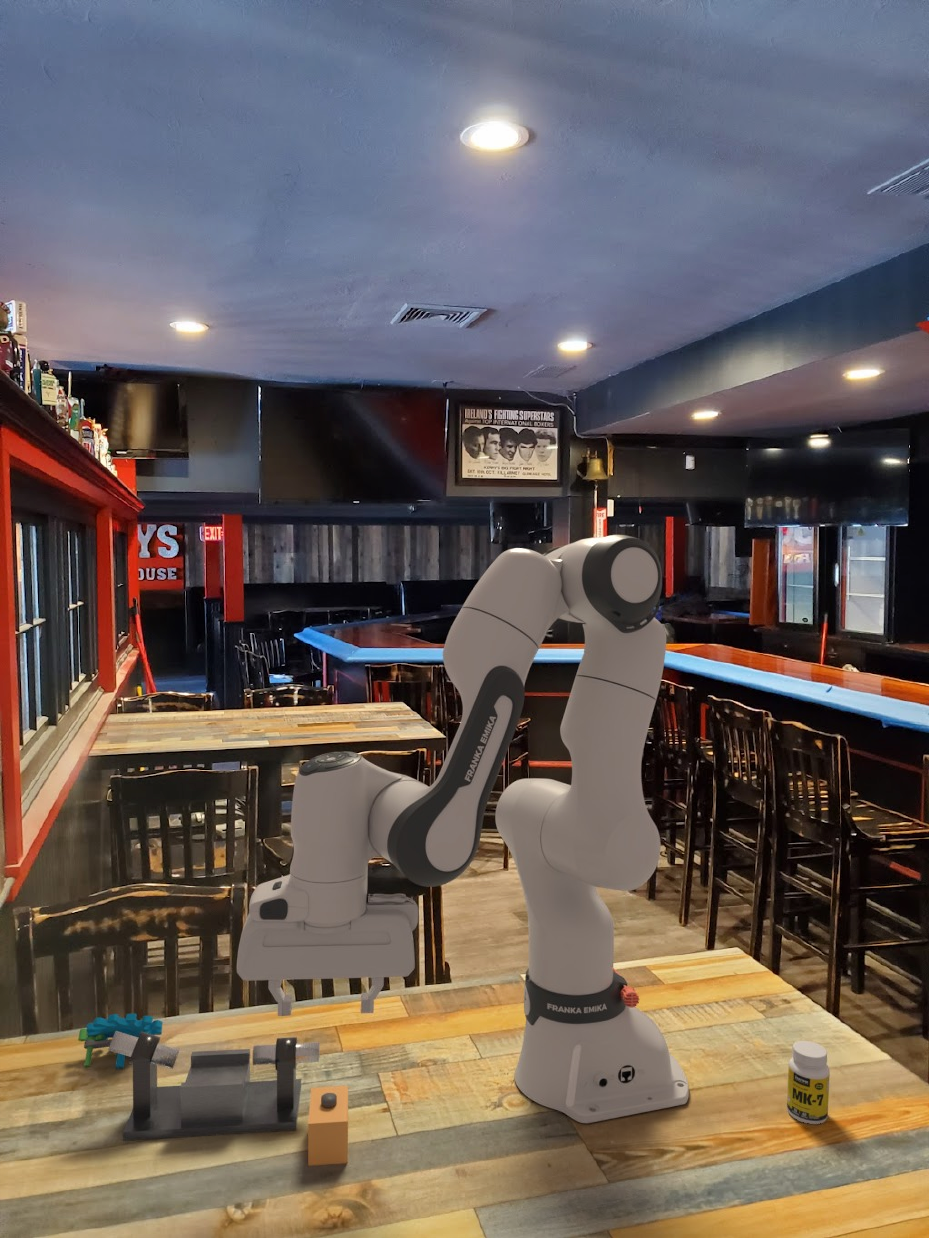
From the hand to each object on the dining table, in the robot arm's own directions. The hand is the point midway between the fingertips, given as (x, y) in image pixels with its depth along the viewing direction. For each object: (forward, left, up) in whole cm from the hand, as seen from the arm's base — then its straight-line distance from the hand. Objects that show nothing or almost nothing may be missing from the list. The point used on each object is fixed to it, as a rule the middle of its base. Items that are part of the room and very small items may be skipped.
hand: (326, 1012), depth 103 cm
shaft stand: (+14, -8, -16) cm, 22 cm away
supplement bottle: (-59, 0, -16) cm, 61 cm away
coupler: (0, 0, -16) cm, 16 cm away
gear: (+29, -22, -16) cm, 40 cm away
